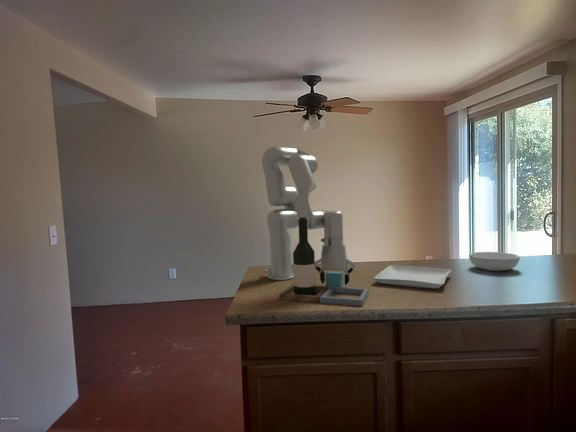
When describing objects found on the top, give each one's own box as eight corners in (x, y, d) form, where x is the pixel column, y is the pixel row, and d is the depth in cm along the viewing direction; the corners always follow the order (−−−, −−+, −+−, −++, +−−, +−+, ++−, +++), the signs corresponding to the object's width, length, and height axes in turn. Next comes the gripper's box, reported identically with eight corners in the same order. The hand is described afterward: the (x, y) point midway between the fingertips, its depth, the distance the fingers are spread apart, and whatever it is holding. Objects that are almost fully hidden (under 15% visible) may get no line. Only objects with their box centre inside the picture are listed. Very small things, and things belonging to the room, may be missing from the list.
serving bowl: (519, 267, 178) (519, 252, 177) (519, 276, 160) (519, 260, 160) (471, 263, 189) (471, 250, 189) (466, 272, 172) (466, 257, 171)
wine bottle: (309, 299, 136) (307, 218, 134) (290, 296, 140) (287, 217, 138) (319, 293, 143) (317, 216, 141) (301, 291, 147) (298, 216, 145)
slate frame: (320, 302, 132) (320, 297, 132) (330, 291, 146) (330, 286, 146) (362, 306, 127) (362, 300, 127) (368, 294, 141) (368, 288, 141)
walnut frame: (279, 299, 137) (279, 294, 137) (293, 289, 151) (292, 284, 151) (318, 302, 132) (318, 297, 132) (328, 291, 146) (328, 286, 146)
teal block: (325, 289, 150) (325, 274, 149) (329, 285, 155) (329, 271, 155) (340, 290, 147) (340, 275, 147) (343, 286, 153) (343, 272, 153)
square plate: (389, 272, 177) (389, 264, 177) (451, 277, 164) (451, 268, 163) (372, 285, 154) (372, 276, 154) (443, 293, 140) (443, 282, 140)
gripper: (310, 242, 149) (311, 284, 151) (353, 243, 143) (354, 286, 145) (315, 240, 156) (316, 279, 158) (356, 240, 151) (357, 282, 152)
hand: (334, 283), depth 151 cm, fingers open, 9 cm apart
